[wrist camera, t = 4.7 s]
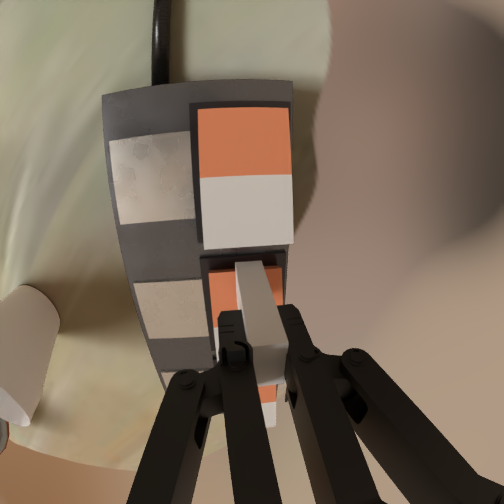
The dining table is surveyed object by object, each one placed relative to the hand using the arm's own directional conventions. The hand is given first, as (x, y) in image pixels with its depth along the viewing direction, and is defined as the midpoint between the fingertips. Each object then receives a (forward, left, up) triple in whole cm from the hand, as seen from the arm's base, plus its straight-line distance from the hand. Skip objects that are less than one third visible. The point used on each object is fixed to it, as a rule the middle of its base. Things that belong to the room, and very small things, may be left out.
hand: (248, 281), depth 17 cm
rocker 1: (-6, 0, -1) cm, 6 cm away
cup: (+7, -22, -7) cm, 24 cm away
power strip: (-2, -3, -6) cm, 7 cm away
